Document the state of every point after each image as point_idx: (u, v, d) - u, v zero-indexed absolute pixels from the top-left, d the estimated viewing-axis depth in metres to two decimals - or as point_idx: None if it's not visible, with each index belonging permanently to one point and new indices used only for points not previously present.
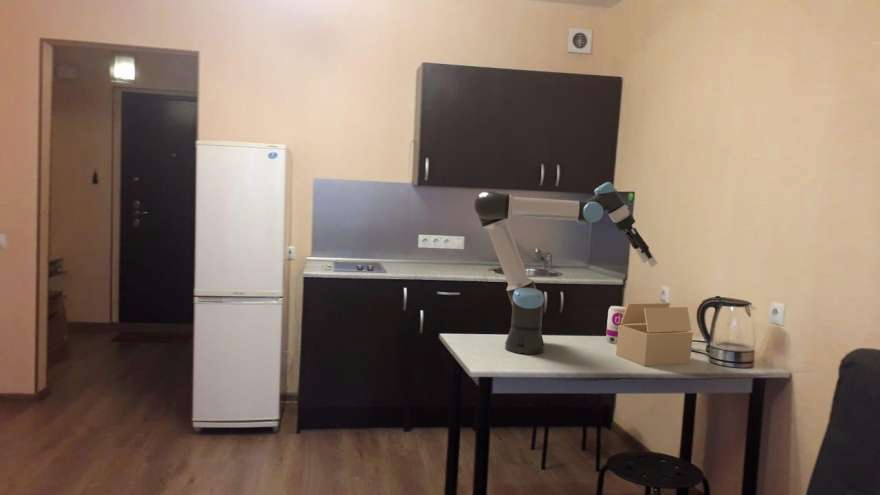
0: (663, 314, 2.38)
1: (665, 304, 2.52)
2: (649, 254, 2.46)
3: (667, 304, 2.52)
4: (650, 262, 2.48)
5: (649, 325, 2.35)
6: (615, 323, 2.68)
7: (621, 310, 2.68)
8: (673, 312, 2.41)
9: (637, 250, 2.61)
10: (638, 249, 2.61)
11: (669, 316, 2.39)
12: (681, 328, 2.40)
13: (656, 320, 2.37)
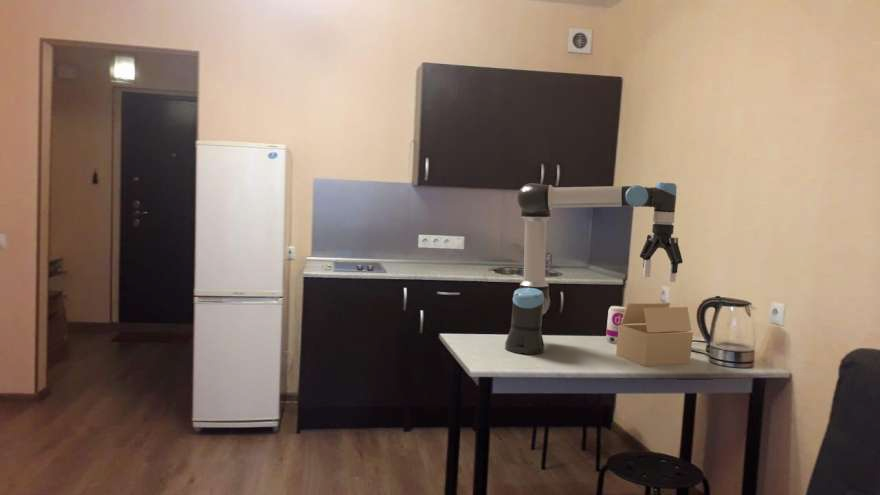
0: (663, 314, 2.38)
1: (665, 304, 2.52)
2: (676, 269, 2.36)
3: (667, 304, 2.52)
4: (671, 276, 2.37)
5: (649, 325, 2.35)
6: (615, 323, 2.68)
7: (621, 310, 2.68)
8: (673, 312, 2.41)
9: (646, 261, 2.49)
10: (647, 261, 2.49)
11: (669, 316, 2.39)
12: (681, 328, 2.40)
13: (656, 320, 2.37)
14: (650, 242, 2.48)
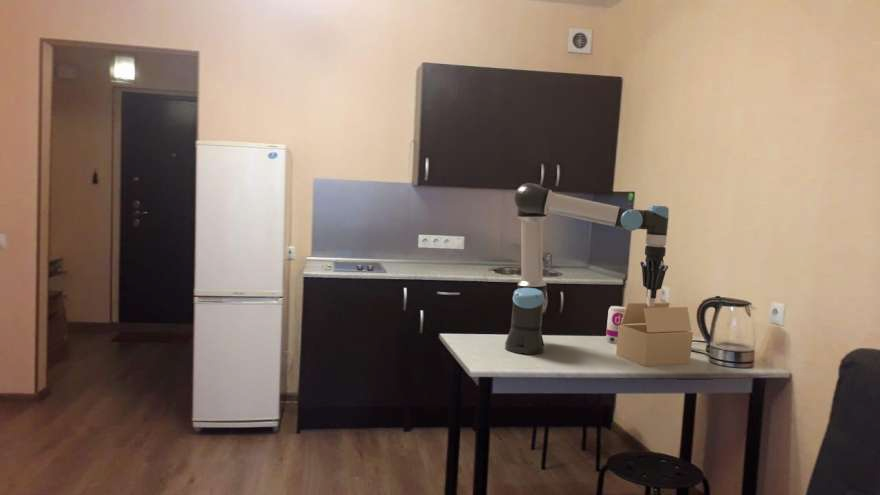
0: (663, 314, 2.38)
1: (665, 304, 2.52)
2: (655, 294, 2.46)
3: (667, 304, 2.52)
4: (650, 301, 2.47)
5: (649, 325, 2.35)
6: (615, 323, 2.68)
7: (621, 310, 2.68)
8: (673, 312, 2.41)
9: None
10: None
11: (669, 316, 2.39)
12: (681, 328, 2.40)
13: (656, 320, 2.37)
14: (646, 268, 2.50)
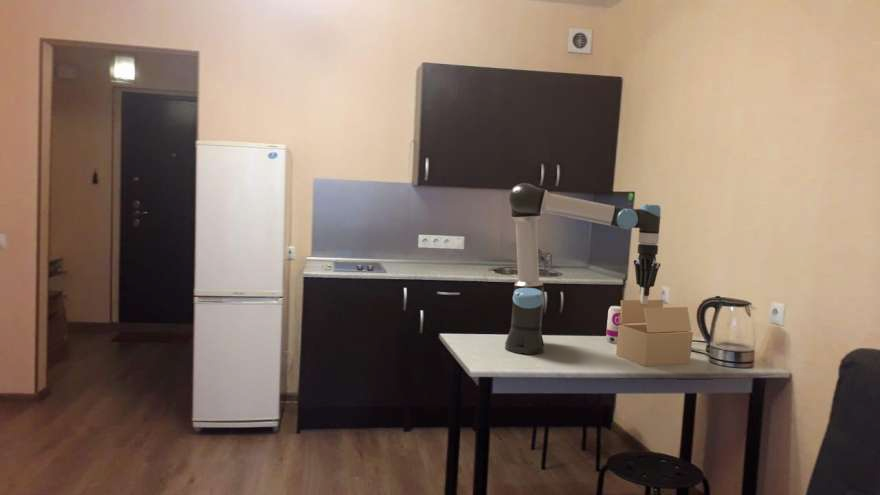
0: (663, 314, 2.38)
1: (659, 301, 2.55)
2: (648, 292, 2.49)
3: (660, 301, 2.55)
4: (643, 299, 2.50)
5: (649, 325, 2.35)
6: (615, 323, 2.68)
7: None
8: (673, 312, 2.41)
9: None
10: None
11: (669, 316, 2.39)
12: (681, 328, 2.40)
13: (656, 320, 2.37)
14: (639, 266, 2.54)
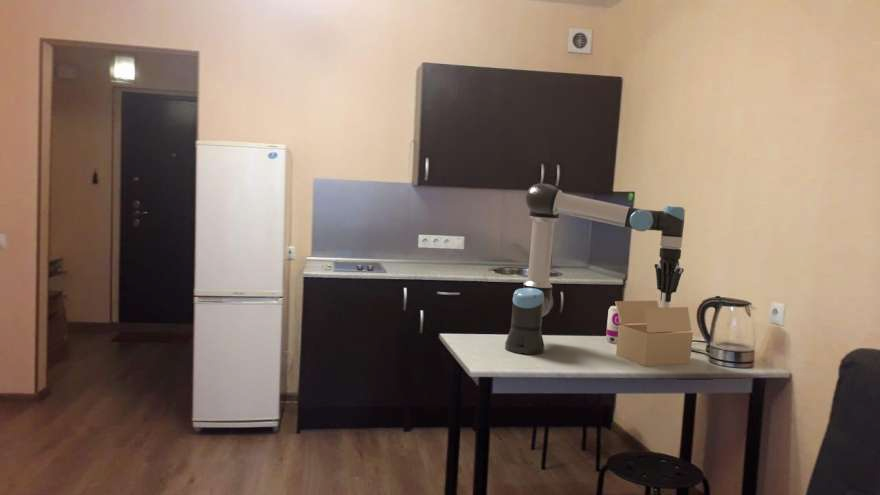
0: (663, 314, 2.38)
1: (653, 302, 2.58)
2: (670, 298, 2.39)
3: (655, 302, 2.58)
4: (664, 305, 2.40)
5: (649, 325, 2.35)
6: (615, 323, 2.68)
7: None
8: (673, 312, 2.40)
9: None
10: None
11: (669, 316, 2.39)
12: (681, 328, 2.40)
13: (656, 320, 2.36)
14: (660, 270, 2.43)
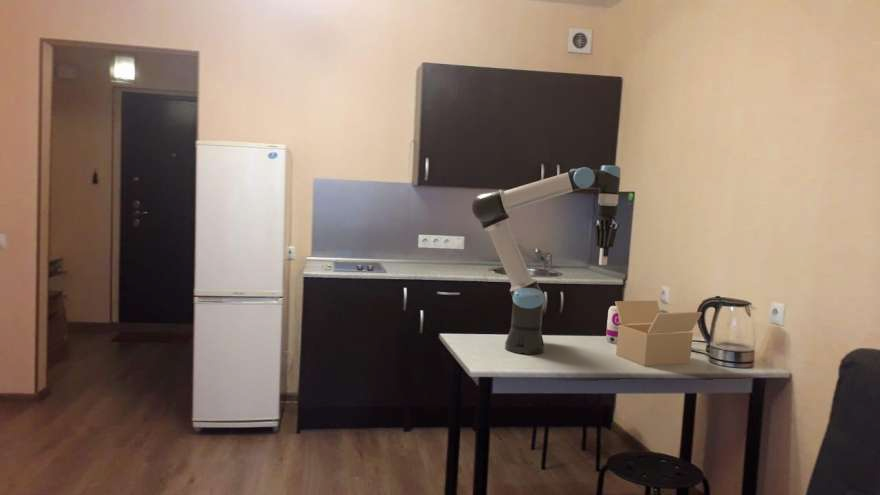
0: (673, 319, 2.34)
1: (653, 302, 2.58)
2: (607, 253, 2.51)
3: (655, 302, 2.58)
4: (602, 260, 2.52)
5: (653, 327, 2.33)
6: (615, 323, 2.68)
7: None
8: (684, 317, 2.35)
9: None
10: None
11: (678, 320, 2.35)
12: (682, 330, 2.40)
13: (663, 323, 2.33)
14: (599, 227, 2.56)
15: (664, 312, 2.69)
